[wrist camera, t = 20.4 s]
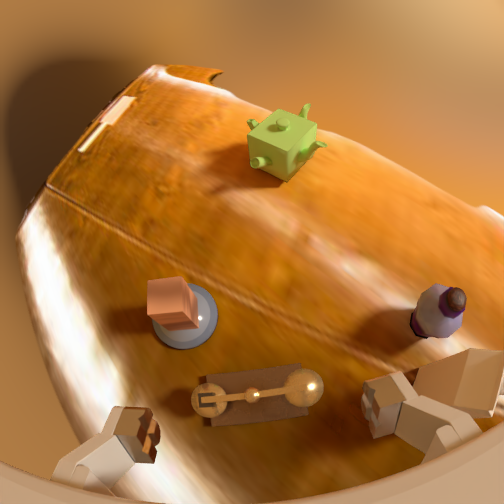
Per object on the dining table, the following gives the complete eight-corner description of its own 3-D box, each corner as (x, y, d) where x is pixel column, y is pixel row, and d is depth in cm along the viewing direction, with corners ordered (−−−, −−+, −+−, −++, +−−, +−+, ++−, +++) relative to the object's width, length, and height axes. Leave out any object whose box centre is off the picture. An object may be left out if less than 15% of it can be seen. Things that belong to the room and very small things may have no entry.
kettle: (307, 137, 65) (310, 98, 56) (327, 181, 59) (334, 140, 49) (243, 146, 65) (238, 106, 55) (254, 193, 58) (249, 151, 49)
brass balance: (319, 412, 39) (333, 415, 29) (201, 426, 39) (179, 432, 29) (311, 361, 43) (321, 349, 33) (196, 376, 43) (173, 368, 33)
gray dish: (221, 345, 45) (220, 344, 44) (154, 351, 45) (152, 350, 44) (215, 281, 50) (214, 279, 49) (153, 289, 50) (152, 287, 50)
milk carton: (403, 407, 37) (472, 403, 21) (419, 366, 40) (488, 339, 23) (437, 419, 35) (512, 415, 19) (451, 379, 38) (525, 356, 21)
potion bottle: (447, 342, 41) (487, 322, 31) (405, 351, 42) (440, 334, 31) (438, 295, 45) (472, 266, 35) (397, 301, 46) (427, 272, 35)
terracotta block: (199, 328, 46) (182, 311, 38) (169, 331, 46) (147, 314, 38) (197, 298, 48) (181, 276, 40) (168, 301, 48) (147, 280, 40)
